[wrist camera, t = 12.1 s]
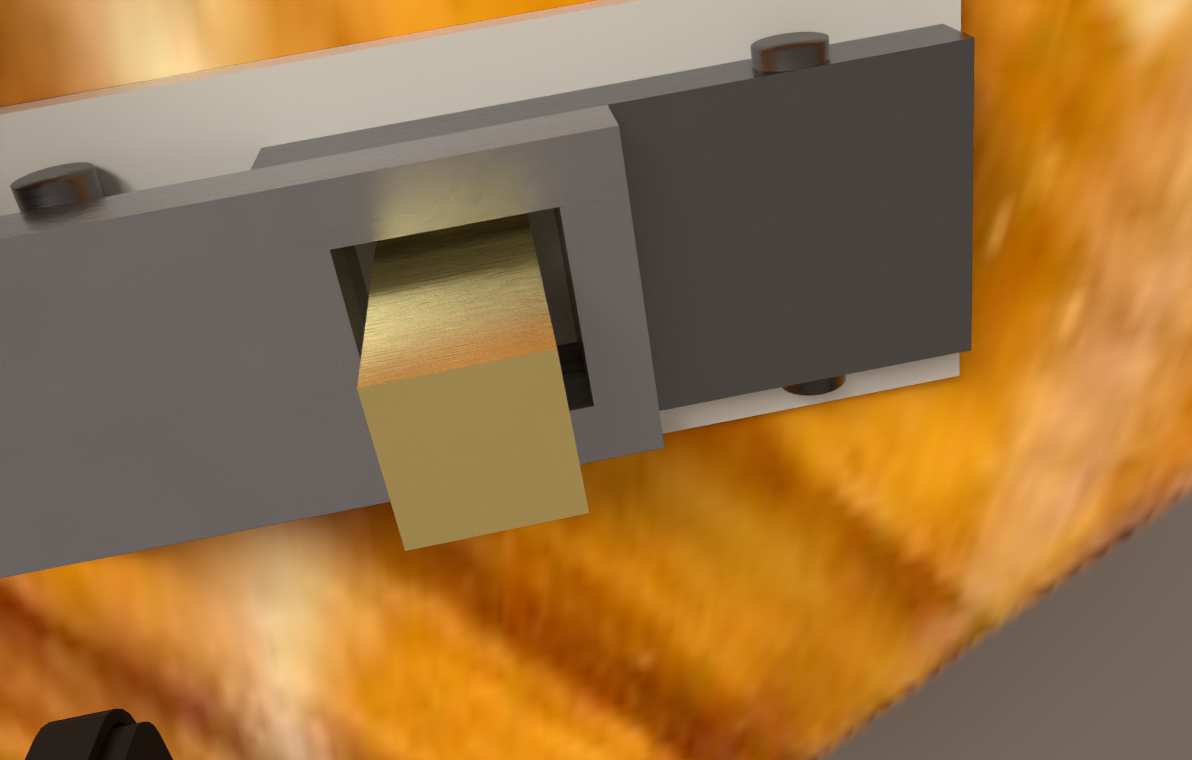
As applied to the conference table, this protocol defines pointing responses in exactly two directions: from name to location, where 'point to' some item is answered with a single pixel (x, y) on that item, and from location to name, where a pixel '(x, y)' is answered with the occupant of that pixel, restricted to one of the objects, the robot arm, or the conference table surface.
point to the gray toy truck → (457, 197)
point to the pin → (467, 385)
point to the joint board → (437, 87)
